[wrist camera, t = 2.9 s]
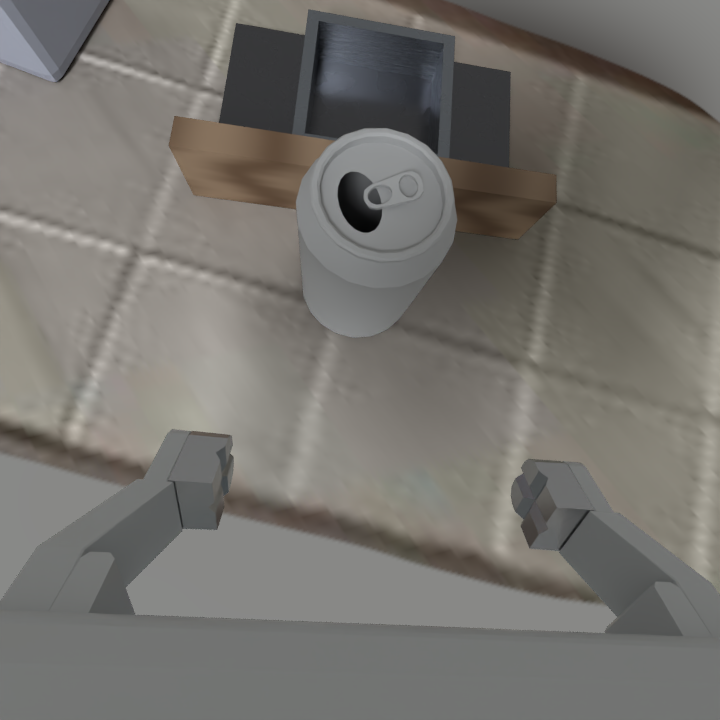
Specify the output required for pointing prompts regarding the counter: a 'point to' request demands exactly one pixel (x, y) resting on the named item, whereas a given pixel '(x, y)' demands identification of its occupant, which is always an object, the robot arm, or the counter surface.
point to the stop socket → (367, 86)
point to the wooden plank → (297, 154)
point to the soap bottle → (45, 33)
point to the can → (372, 228)
